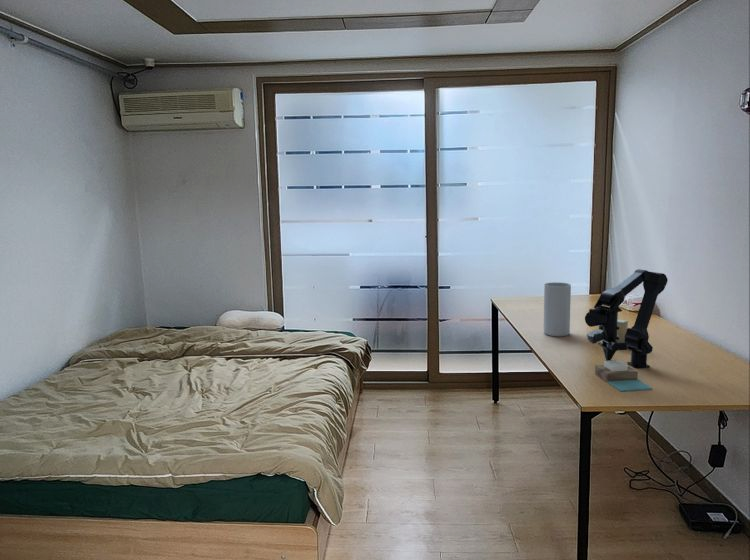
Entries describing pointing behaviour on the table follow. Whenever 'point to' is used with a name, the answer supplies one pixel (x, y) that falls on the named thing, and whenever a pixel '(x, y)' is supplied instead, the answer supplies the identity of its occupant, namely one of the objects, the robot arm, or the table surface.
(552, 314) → the cylinder vase
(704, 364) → the table surface
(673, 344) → the table surface
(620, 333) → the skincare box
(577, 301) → the table surface
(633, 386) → the mat
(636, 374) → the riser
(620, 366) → the tile
